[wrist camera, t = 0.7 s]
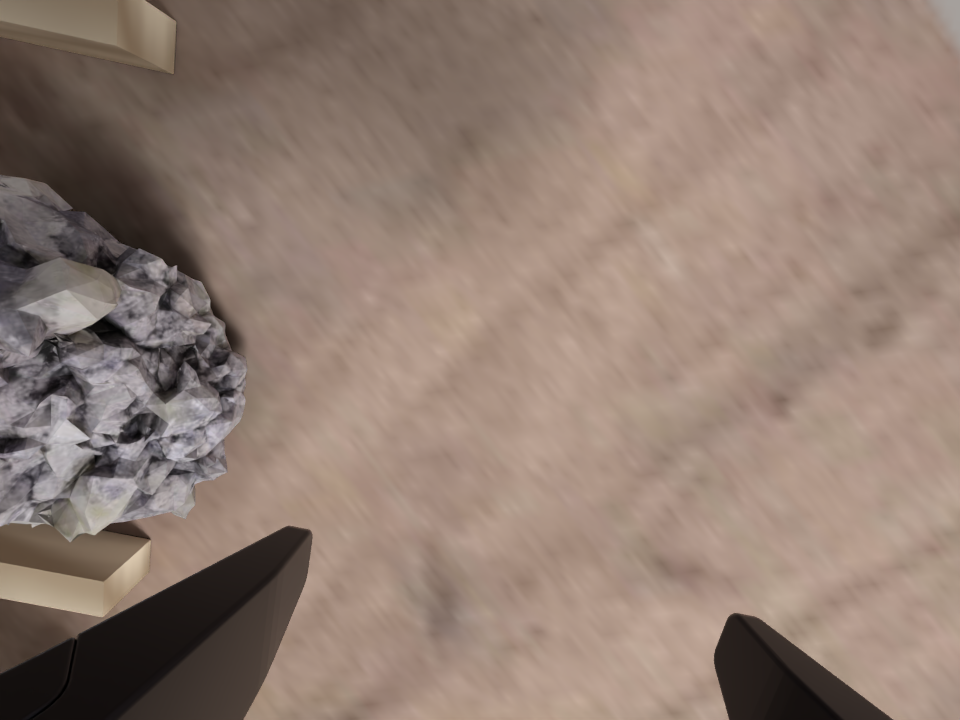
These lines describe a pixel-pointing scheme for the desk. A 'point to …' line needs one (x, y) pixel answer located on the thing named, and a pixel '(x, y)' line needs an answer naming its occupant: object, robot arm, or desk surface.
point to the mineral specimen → (103, 373)
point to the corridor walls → (43, 549)
